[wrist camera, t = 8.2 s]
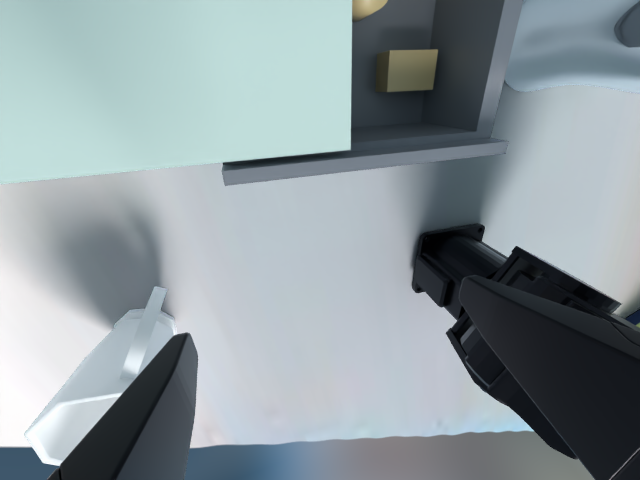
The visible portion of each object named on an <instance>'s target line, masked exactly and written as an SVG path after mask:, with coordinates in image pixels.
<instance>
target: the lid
mask: <svg viewBox="0 0 640 480" xmlns="http://www.w3.org/2000/svg"><path fill="white" fill-rule="evenodd" d="M351 69H352V0H0V184H9V183H19V182H29V181H39V180H49V179H60V178H70V177H80V176H90V175H100V174H111V173H121V172H131V171H141V170H151V169H162V168H172V167H182V166H192V165H202V164H213V163H223V162H233V161H243V160H253V159H263V158H274V157H284V156H294V155H304V154H314V153H325V152H335V151H345V150H351Z"/></svg>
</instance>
